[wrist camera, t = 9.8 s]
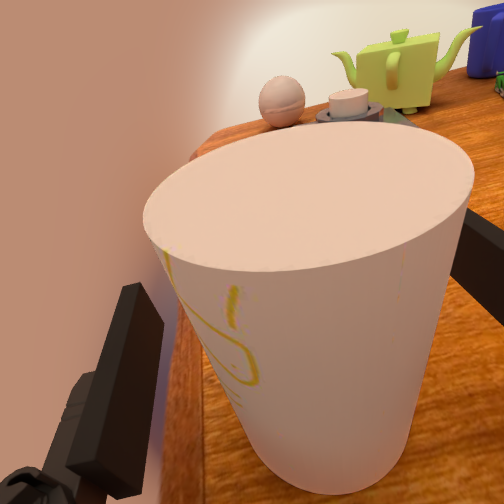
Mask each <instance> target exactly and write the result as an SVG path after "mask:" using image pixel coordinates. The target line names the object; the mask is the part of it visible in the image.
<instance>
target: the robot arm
mask: <svg viewBox="0 0 504 504" xmlns="http://www.w3.org/2000/svg"><path fill="white" fill-rule="evenodd" d="M450 276H451V277H452V278H454V279H455V280H456V281H457V282H458V283H459V284H460V285H461V286H462V287H463V288H464V289H465V290H466V291H467V292H468V293H469V294H470V295H471V296H472V297H473V298H474V299H476V300H477V301H478V302H479V303H480V304H481V305H482V306H483V307H484V308H485V309H486V310H487V311H488V312H489V313H490V314H491V315H492V316H493V317H494V318H495V319H496V320H498V321H499V322H500V323H501V324H502V325H503V326H504V231H503V230H502V229H500V228H498V227H497V226H495V225H494V224H492V223H491V222H489V221H487V220H486V219H484V218H483V217H481V216H480V215H478V214H476V213H475V212H473V211H472V210H470V209H469V208H467V209H466V213H465V217H464V221H463V225H462V229H461V233H460V237H459V240H458V244H457V248H456V252H455V256H454V260H453V264H452V268H451V272H450ZM163 331H164V322H163V320H162V319H161V317H160V316H159V314H158V312H157V310H156V308H155V307H154V305H153V303H152V302H151V300H150V298H149V296H148V294H147V293H146V291H145V289H144V288H143V286H142V284H141V283H140V282H139V283H135V284H130V285H127V286H123V288H122V291H121V294H120V297H119V300H118V303H117V306H116V309H115V312H114V315H113V318H112V322H111V325H110V328H109V331H108V334H107V337H106V340H105V343H104V346H103V349H102V353H101V356H100V359H99V362H98V365H97V368H96V371H93V372H88V373H84V374H83V375H82V376H81V377H80V379H79V380H78V382H77V383H76V384H75V386H74V387H73V389H72V391H71V393H70V396H69V399H68V401H67V404H66V408H65V409H64V412H63V415H62V417H61V422H60V423H59V425H58V428H57V431H56V433H55V436H54V439H53V441H52V444H51V447H50V450H49V452H48V455H47V458H46V460H45V463H44V466H43V468H42V471H40V470H38V469H37V468H35V467H24V468H21V469H18V470H16V471H14V472H13V473H12V474H10V475H9V476H7V477H6V478H5V479H4V480H3V481H2V482H1V483H0V504H106V499H107V494H108V495H110V496H112V497H113V498H114V499H116V500H119V499H123V498H127V497H131V496H136V495H140V494H142V486H143V478H144V472H145V463H146V456H147V449H148V441H149V435H150V427H151V420H152V412H153V405H154V397H155V390H156V383H157V375H158V368H159V360H160V353H161V345H162V338H163Z"/></svg>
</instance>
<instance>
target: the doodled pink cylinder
mask: <svg viewBox="0 0 504 504" xmlns="http://www.w3.org/2000/svg"><path fill="white" fill-rule="evenodd" d="M473 182H474V167H473V164H472V162H471V160H470V158H469V157H468V155H467V154H466V153H465V152H464V150H462V149H461V148H460V147H459V146H458V145H456V144H455V143H453V142H452V141H450V140H448V139H447V138H445V137H442V136H440V135H438V134H435V133H433V132H430V131H427V130H423V129H420V128H416V127H411V126H406V125H400V124H393V123H383V122H366V121H348V122H329V123H318V124H310V125H302V126H296V127H290V128H285V129H280V130H275V131H271V132H267V133H263V134H259V135H255V136H252V137H248V138H245V139H242V140H239V141H236V142H233V143H230V144H228V145H225V146H222V147H220V148H217V149H215V150H213V151H211V152H208V153H206V154H204V155H202V156H200V157H198V158H196V159H194V160H193V161H191V162H189V163H187V164H186V165H184V166H183V167H181V168H179V169H178V170H177V171H175V172H174V173H172V174H171V175H170V176H169V177H167V178H166V179H165V180H164V181H163V182H162V183H161V184H160V185H159V186H158V187H157V188H156V189H155V190H154V192H153V193H152V194H151V196H150V197H149V199H148V201H147V203H146V205H145V208H144V212H143V225H144V229H145V231H146V233H147V235H148V237H149V239H150V241H151V243H152V245H153V247H154V249H155V251H156V253H157V255H158V257H159V259H160V261H161V263H162V265H163V267H164V269H165V271H166V273H167V275H168V277H169V279H170V282H171V283H172V285H173V288H174V289H175V292H176V294H177V296H178V298H179V300H180V302H181V304H182V306H183V308H184V310H185V312H186V314H187V316H188V318H189V320H190V322H191V324H192V326H193V328H194V330H195V332H196V334H197V336H198V338H199V340H200V342H201V344H202V346H203V348H204V350H205V352H206V354H207V356H208V358H209V360H210V362H211V364H212V366H213V368H214V370H215V372H216V374H217V377H218V379H219V381H220V383H221V385H222V387H223V389H224V391H225V393H226V395H227V397H228V399H229V401H230V403H231V405H232V407H233V409H234V411H235V413H236V415H237V417H238V419H239V421H240V423H241V425H242V427H243V429H244V431H245V433H246V435H247V437H248V439H249V441H250V443H251V445H252V447H253V449H254V450H255V452H256V453H257V455H258V456H259V458H260V459H261V460H262V461H263V463H264V464H265V465H266V466H267V467H268V468H269V469H270V470H271V471H272V472H273V473H275V474H276V475H277V476H279V477H280V478H281V479H283V480H284V481H286V482H288V483H289V484H291V485H293V486H295V487H297V488H300V489H302V490H305V491H309V492H312V493H317V494H324V495H341V494H348V493H353V492H357V491H360V490H362V489H365V488H367V487H369V486H371V485H373V484H375V483H376V482H378V481H379V480H381V479H382V478H383V477H384V476H385V475H386V474H387V473H388V472H389V471H390V470H391V469H392V468H393V467H394V466H395V464H396V463H397V461H398V460H399V458H400V457H401V455H402V453H403V450H404V448H405V445H406V442H407V439H408V435H409V431H410V427H411V423H412V419H413V416H414V412H415V408H416V404H417V400H418V396H419V392H420V388H421V384H422V381H423V377H424V373H425V369H426V365H427V361H428V357H429V353H430V349H431V346H432V342H433V338H434V334H435V330H436V326H437V322H438V318H439V314H440V311H441V307H442V303H443V299H444V295H445V291H446V287H447V283H448V279H449V276H450V272H451V268H452V264H453V260H454V256H455V252H456V248H457V244H458V240H459V237H460V233H461V229H462V225H463V221H464V217H465V213H466V209H467V205H468V202H469V198H470V194H471V190H472V186H473Z"/></svg>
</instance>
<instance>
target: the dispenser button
mask: <svg viewBox="0 0 504 504" xmlns="http://www.w3.org/2000/svg"><path fill="white" fill-rule="evenodd" d="M365 112H368V90H367V89H363V88H357V89H348V90H343V91H339V92H336V93H334V94H332V95H330V96H329V115H330V117H334V118H341V117H351V116H356V115H360V114H363V113H365Z"/></svg>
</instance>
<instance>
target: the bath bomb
mask: <svg viewBox="0 0 504 504" xmlns="http://www.w3.org/2000/svg"><path fill="white" fill-rule="evenodd" d="M304 106H305V94H304V91H303V88H302V87H301V86H300V84H299V83H298V82H297V81H296V80H295V79H293V78H291V77H288V76H277V77H274V78H273V79H271V80H269V81H268V82H267V83H266V84H265V86H264V87H263V88H262V91H261V92H260V96H259V109H260V113H261V115H262V117H263V118H264V120H265V121H266V122H267V123H268V124H270V125H272V126H274V127H278V128H284V127H288V126H291V125H292V124H294V123H295V122H296V121H297V120H298V119H299V118H300V117H301V115H302V113H303V111H304Z"/></svg>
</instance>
